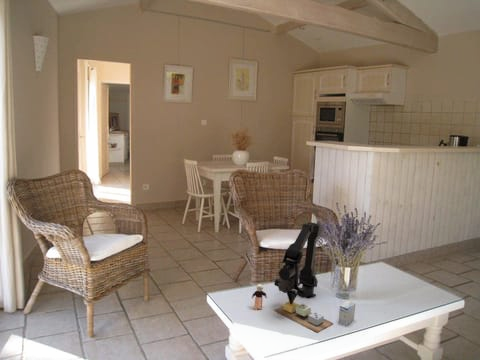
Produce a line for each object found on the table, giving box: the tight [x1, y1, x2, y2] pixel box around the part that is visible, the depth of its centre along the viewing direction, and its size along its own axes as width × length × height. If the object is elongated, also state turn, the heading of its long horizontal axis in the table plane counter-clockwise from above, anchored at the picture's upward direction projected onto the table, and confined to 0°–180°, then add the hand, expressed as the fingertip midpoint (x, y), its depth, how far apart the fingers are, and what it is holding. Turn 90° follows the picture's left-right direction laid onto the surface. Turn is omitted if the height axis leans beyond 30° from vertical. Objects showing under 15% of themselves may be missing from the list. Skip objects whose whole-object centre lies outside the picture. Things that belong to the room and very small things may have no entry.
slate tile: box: [308, 311, 325, 325], centre depth 186 cm, size 5×5×3 cm
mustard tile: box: [283, 300, 299, 313], centre depth 196 cm, size 5×5×3 cm
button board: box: [273, 305, 334, 334], centre depth 191 cm, size 12×26×1 cm, turn 43°
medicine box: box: [337, 300, 356, 327], centre depth 188 cm, size 8×4×9 cm, turn 141°
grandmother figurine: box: [251, 283, 268, 311], centre depth 198 cm, size 8×4×13 cm, turn 105°
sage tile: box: [296, 303, 312, 316], centre depth 191 cm, size 5×5×3 cm
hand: (291, 303), depth 196 cm, fingers closed, pressing on mustard tile
